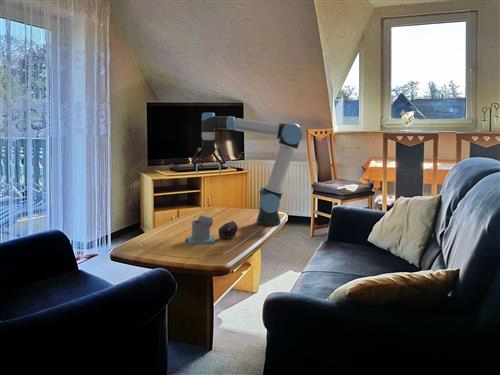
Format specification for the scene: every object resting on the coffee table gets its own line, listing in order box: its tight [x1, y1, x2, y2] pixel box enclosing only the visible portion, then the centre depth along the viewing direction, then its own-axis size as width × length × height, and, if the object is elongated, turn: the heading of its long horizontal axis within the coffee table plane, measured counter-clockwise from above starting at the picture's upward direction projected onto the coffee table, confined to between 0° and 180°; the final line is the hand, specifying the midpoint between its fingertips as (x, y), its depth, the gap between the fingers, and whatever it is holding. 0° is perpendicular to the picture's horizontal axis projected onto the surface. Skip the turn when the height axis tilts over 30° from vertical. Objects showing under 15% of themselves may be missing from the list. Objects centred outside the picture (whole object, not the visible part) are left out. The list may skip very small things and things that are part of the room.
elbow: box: [191, 215, 214, 241], centre depth 236 cm, size 11×9×12 cm
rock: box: [218, 220, 239, 240], centre depth 244 cm, size 12×9×10 cm
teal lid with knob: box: [187, 234, 215, 245], centre depth 237 cm, size 14×12×6 cm
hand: (208, 175), depth 261 cm, fingers open, 13 cm apart
